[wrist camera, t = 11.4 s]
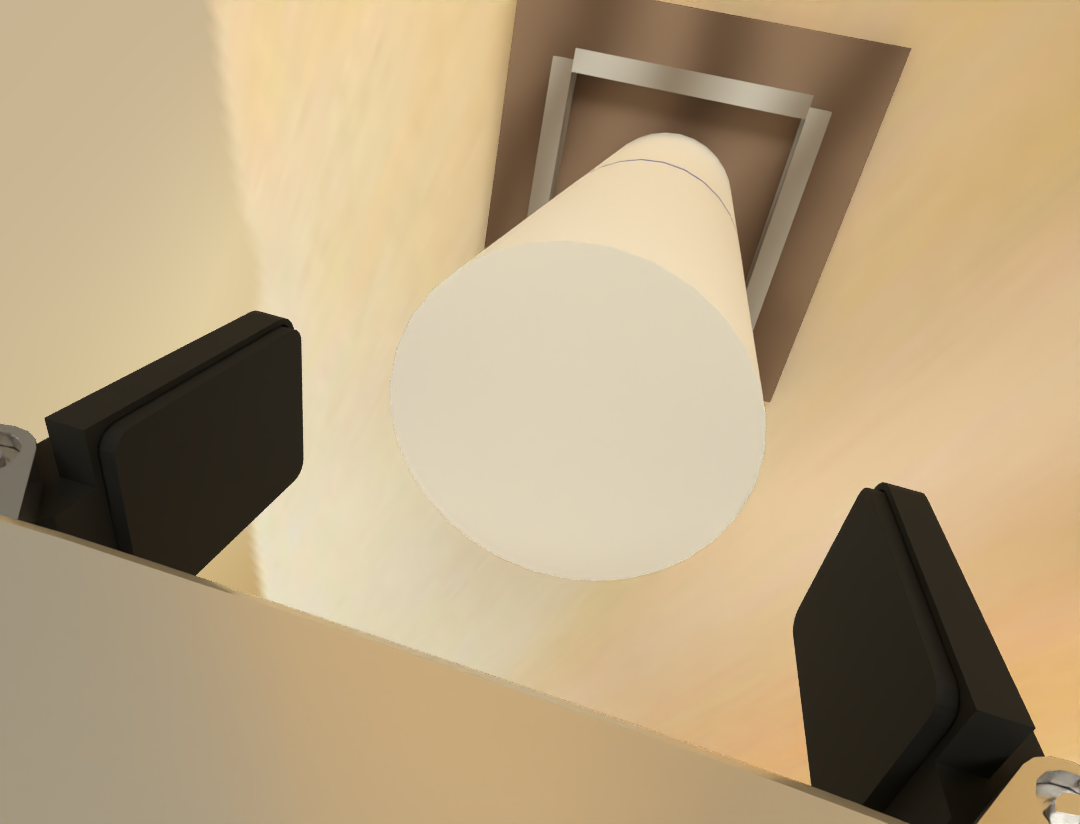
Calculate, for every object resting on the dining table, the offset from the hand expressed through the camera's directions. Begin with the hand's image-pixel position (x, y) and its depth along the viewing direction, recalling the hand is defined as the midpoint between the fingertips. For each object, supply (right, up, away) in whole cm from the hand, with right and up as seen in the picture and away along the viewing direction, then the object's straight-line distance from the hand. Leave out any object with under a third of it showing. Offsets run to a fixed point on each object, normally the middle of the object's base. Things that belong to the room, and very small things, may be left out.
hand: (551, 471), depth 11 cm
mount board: (+6, +12, +24) cm, 28 cm away
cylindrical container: (+6, +12, +23) cm, 27 cm away
